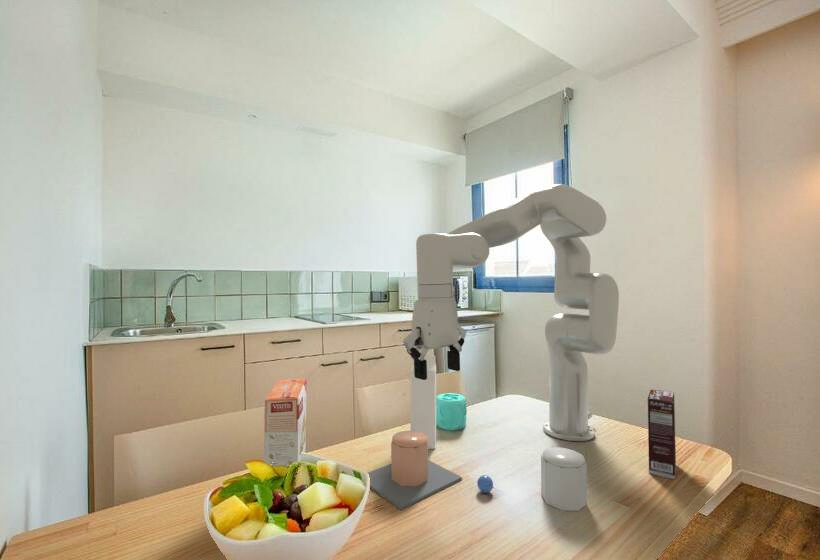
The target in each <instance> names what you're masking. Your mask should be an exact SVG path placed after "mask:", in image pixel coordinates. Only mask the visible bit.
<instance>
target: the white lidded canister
mask: <svg viewBox="0 0 820 560" xmlns="http://www.w3.org/2000/svg"><path fill="white" fill-rule="evenodd" d="M585 459H586V458H585V457H584V455H583V454H582V453H580V452H579V451H577V450H576V451H575V450H574V449H569V448H565V447H560V446H559V447H558V446H557V447H548V448H546V449H545V448H544V450H543V451H542V454H541V455H540V461H541V462H540V463H541V464H540V480H541V481H540V482H541V483H540V486H541V488H540V489H541V490H540V491H541V492H540V494H541V496H542V498H543V500H544V502H545V504H547V505H550V506H552V507H553V508H556V509H558V510H559V511H571V512H572V511H573V512H574V511H575V512H580V511H581V510H582V509H583V508H584V507H586V506H587V504H588V497H587V496H588V494H587V493H588V492H587V491H588V490H587V489H588V486H587V485H588V481H587V480H588V477H587V475H588V473H587V472H588V470H587V468H588V467H587V465H588V464H587V462H586V460H585Z"/></svg>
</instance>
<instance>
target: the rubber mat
mask: <svg viewBox="0 0 820 560" xmlns="http://www.w3.org/2000/svg"><path fill="white" fill-rule="evenodd" d="M367 473H368V474H369V477H370V489H371V490H372V491H374V492H375V493H376V494H378V495H379V496H381V497H382V498H383V499H385V500H386V501H387V502H389V503H390V504H392V505H393V506H394V507H396V508H398V509H399V510H400V511H401V510H403V509H405V508H407V507H409V506H411V505H413V504H415V503H417V502H419V501H421V500H424V499H425V498H428V497H429V496H431V495H434V494H436V493H437V492H439V491H442V490H444V489H445V488H447V487H449V486H452V485H454V484H456V483H458V482H460V481H462V480H463V477H462V476H460V475H459V474H457V473H454V472H453V471H451V470H449V469H447V468H445V467H443V466H441V465H440V464H437V463H435V462H433V461H431V460H429V459H428V481H427V482H425V483H422V484H420V485H418V486H401V485H399V484H397V483H396V482H394V481H393V480H391V463H389V464H387V465H384V466H381V467H379V468H375V469H373V470H372V471H368V472H367Z"/></svg>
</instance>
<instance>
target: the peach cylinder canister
mask: <svg viewBox="0 0 820 560" xmlns="http://www.w3.org/2000/svg"><path fill="white" fill-rule="evenodd" d="M390 444H391V445H390V446H391V447H390V448H391V450H390V452H391V453H390V454H391V456H390V464H391V480H393V481H394V482H396V483H397V484H399V485H401V486H418V485H420V484H422V483H425V482H427V481H428V460H429V449H428V437H427V435H426V434H424V433H422V432H418V431H411V430H402V431H399V432H396V433H394V434H393V435H392V438H391V443H390Z"/></svg>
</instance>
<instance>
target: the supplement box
mask: <svg viewBox="0 0 820 560" xmlns="http://www.w3.org/2000/svg"><path fill="white" fill-rule="evenodd" d="M675 406H676V405H675V392H674V391H667V390H666V391H665V390H659V389H650V390H649V394H648V396H647V423H648V424H647V426H648V427H647V428H648V429H647V431H648V433H647V435H648V438H647V439H648V474H650V475H652V476H653V475H655V476H658V477H662V478H666V479H671V480H676V470H677V469H676V466H677V465H676V464H677V460H676V459H677V458H676V456H677V453H676V451H677V450H676V449H677V448H676V415H675V414H676V412H675V411H676V410H675V408H676V407H675Z"/></svg>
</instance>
